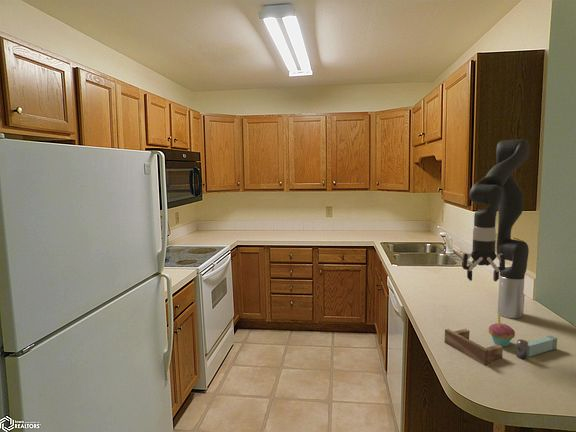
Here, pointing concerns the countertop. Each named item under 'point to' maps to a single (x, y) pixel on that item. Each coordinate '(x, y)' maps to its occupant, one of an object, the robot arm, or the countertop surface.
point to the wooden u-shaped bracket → (472, 346)
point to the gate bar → (541, 345)
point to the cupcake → (501, 333)
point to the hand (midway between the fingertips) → (482, 280)
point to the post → (522, 349)
